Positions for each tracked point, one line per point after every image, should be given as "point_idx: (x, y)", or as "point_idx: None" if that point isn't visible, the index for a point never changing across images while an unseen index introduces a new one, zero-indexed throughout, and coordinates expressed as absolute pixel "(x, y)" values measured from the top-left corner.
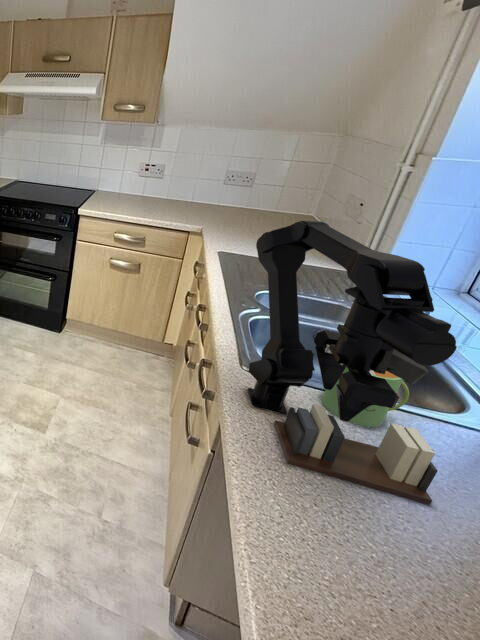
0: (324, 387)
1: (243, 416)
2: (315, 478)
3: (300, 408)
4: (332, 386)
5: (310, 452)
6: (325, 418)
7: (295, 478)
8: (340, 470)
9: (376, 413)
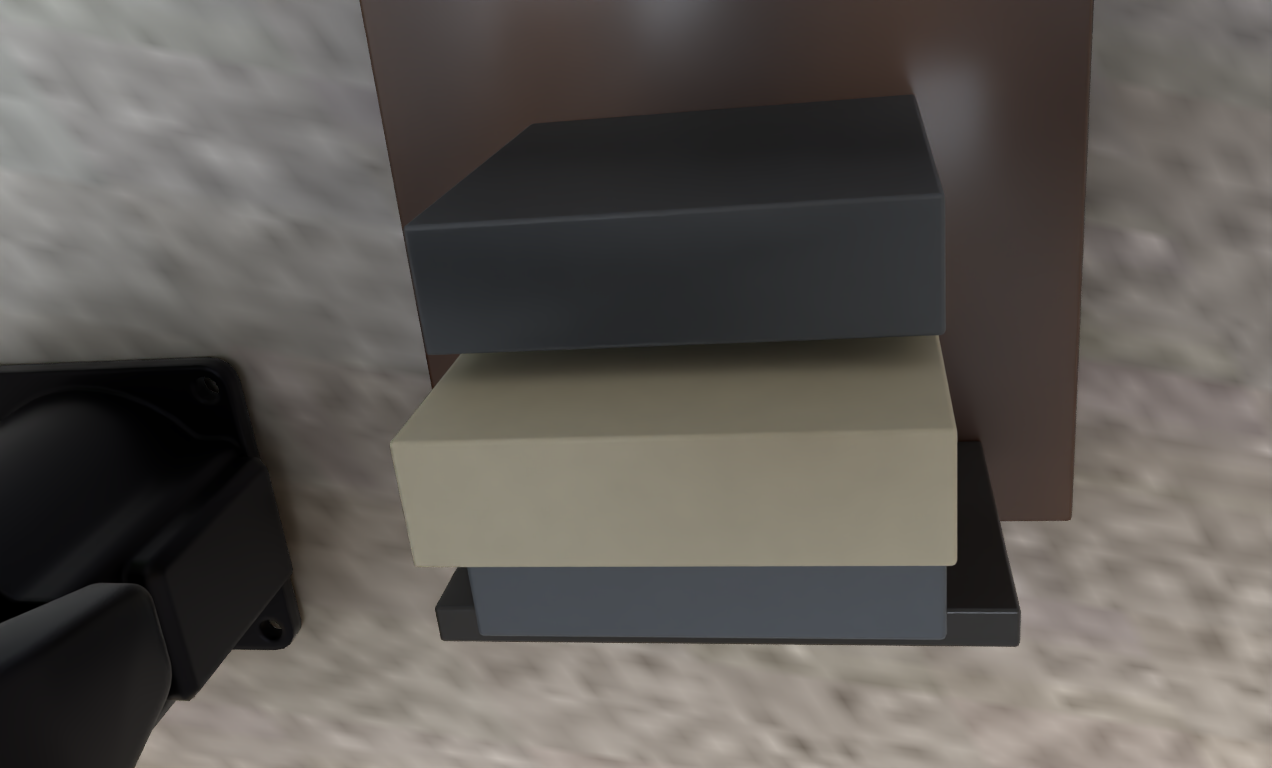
0: (156, 701)
1: (515, 719)
2: (1175, 275)
3: (499, 619)
4: (86, 646)
5: None
6: (745, 491)
7: (1259, 454)
8: (1032, 51)
9: None
